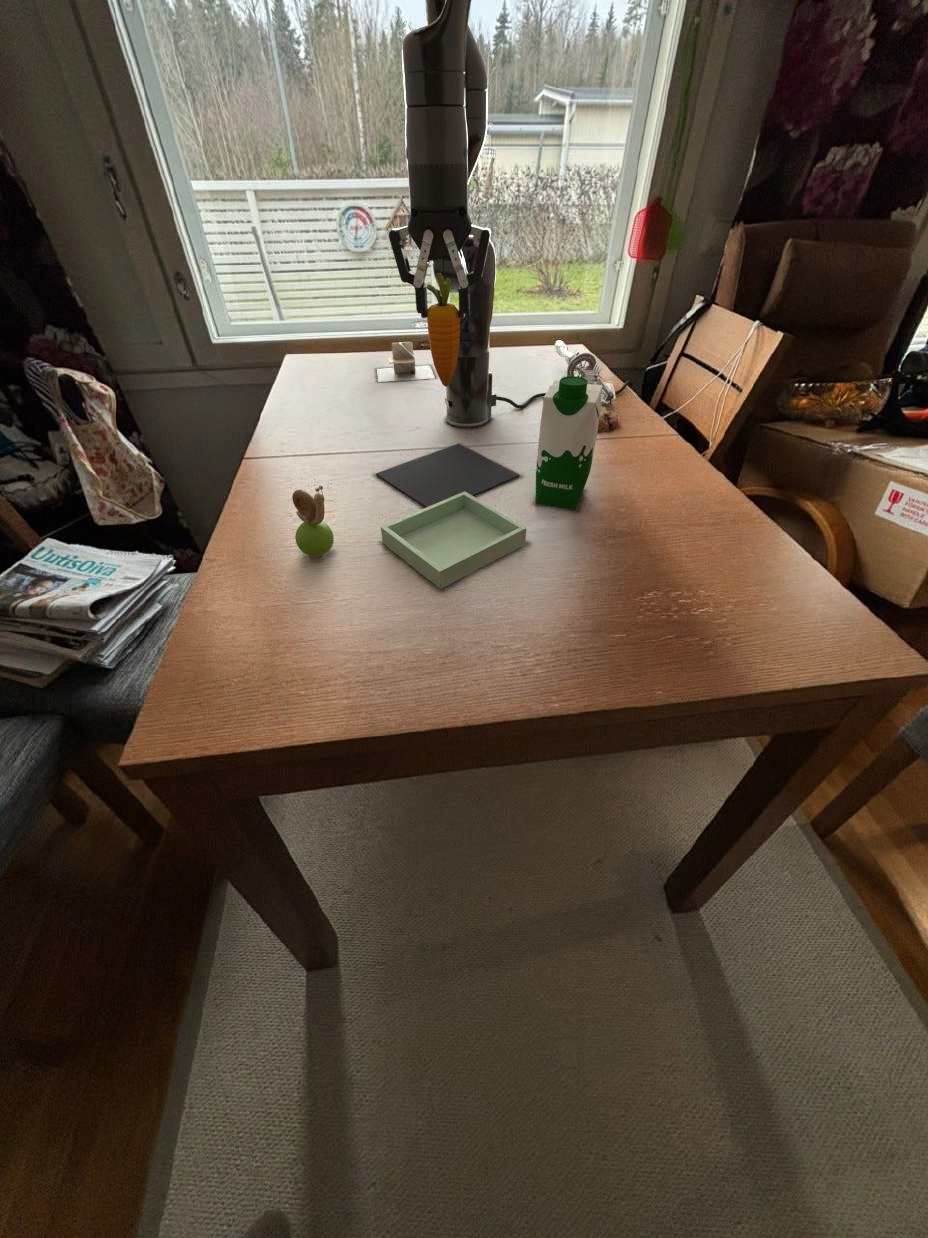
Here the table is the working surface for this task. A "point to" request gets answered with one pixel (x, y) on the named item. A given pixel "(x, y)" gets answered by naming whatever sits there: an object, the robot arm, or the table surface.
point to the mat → (446, 475)
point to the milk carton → (566, 441)
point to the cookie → (607, 420)
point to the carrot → (443, 331)
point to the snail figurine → (312, 523)
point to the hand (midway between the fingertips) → (443, 316)
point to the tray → (453, 538)
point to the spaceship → (585, 370)
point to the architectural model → (404, 365)
